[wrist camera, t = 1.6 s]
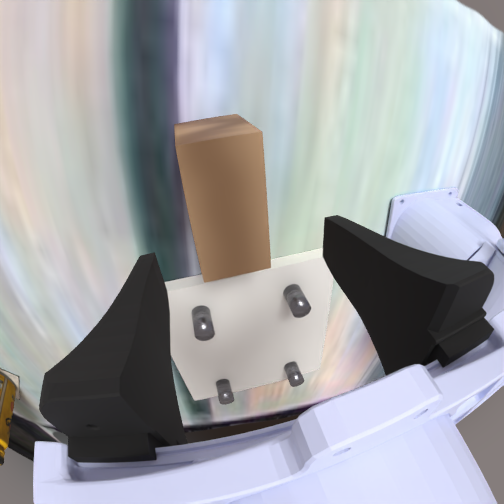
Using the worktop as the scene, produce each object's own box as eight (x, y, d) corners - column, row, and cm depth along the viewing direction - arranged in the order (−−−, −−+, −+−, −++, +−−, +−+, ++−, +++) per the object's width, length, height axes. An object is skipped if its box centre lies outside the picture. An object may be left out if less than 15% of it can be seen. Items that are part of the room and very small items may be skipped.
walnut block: (236, 113, 18) (262, 131, 13) (247, 220, 23) (271, 268, 18) (174, 124, 17) (175, 146, 13) (194, 230, 22) (203, 282, 17)
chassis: (329, 246, 26) (349, 271, 23) (316, 361, 37) (327, 384, 34) (144, 286, 24) (144, 318, 21) (193, 392, 34) (197, 418, 31)
